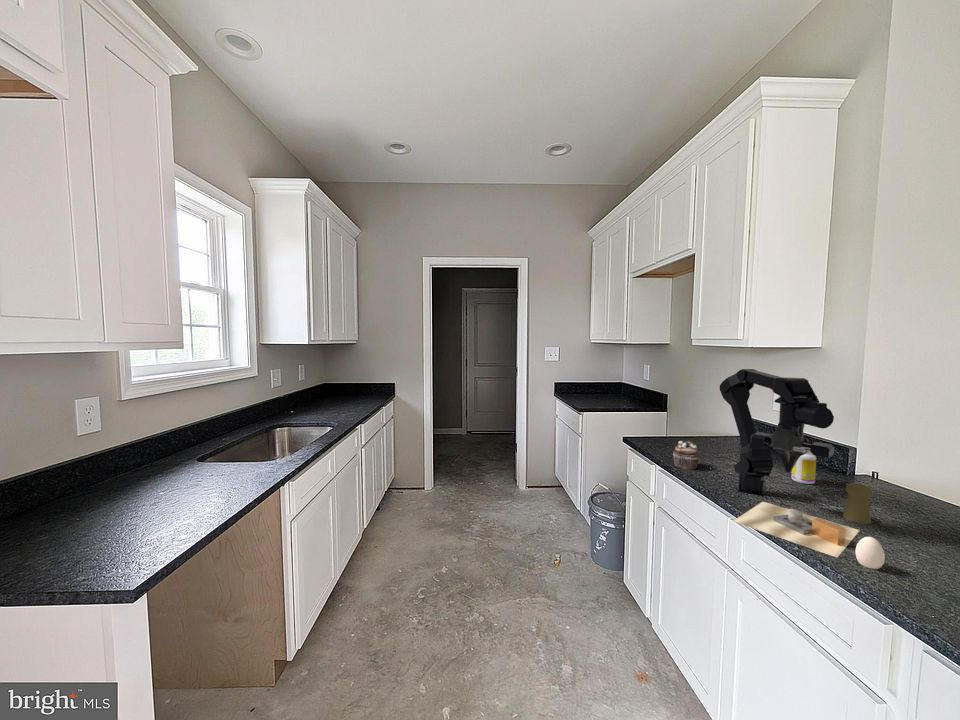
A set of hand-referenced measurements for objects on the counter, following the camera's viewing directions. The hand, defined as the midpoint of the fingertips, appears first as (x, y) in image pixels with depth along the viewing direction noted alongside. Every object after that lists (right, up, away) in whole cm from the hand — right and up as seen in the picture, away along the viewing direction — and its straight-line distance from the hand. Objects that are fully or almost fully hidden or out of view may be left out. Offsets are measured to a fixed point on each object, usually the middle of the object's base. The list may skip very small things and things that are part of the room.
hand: (788, 472), depth 117 cm
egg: (-4, -14, -28) cm, 31 cm away
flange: (-4, -12, -13) cm, 18 cm away
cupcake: (-9, -10, +41) cm, 43 cm away
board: (-6, -13, -10) cm, 17 cm away
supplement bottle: (+25, -11, +25) cm, 37 cm away
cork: (+15, -13, -6) cm, 20 cm away
